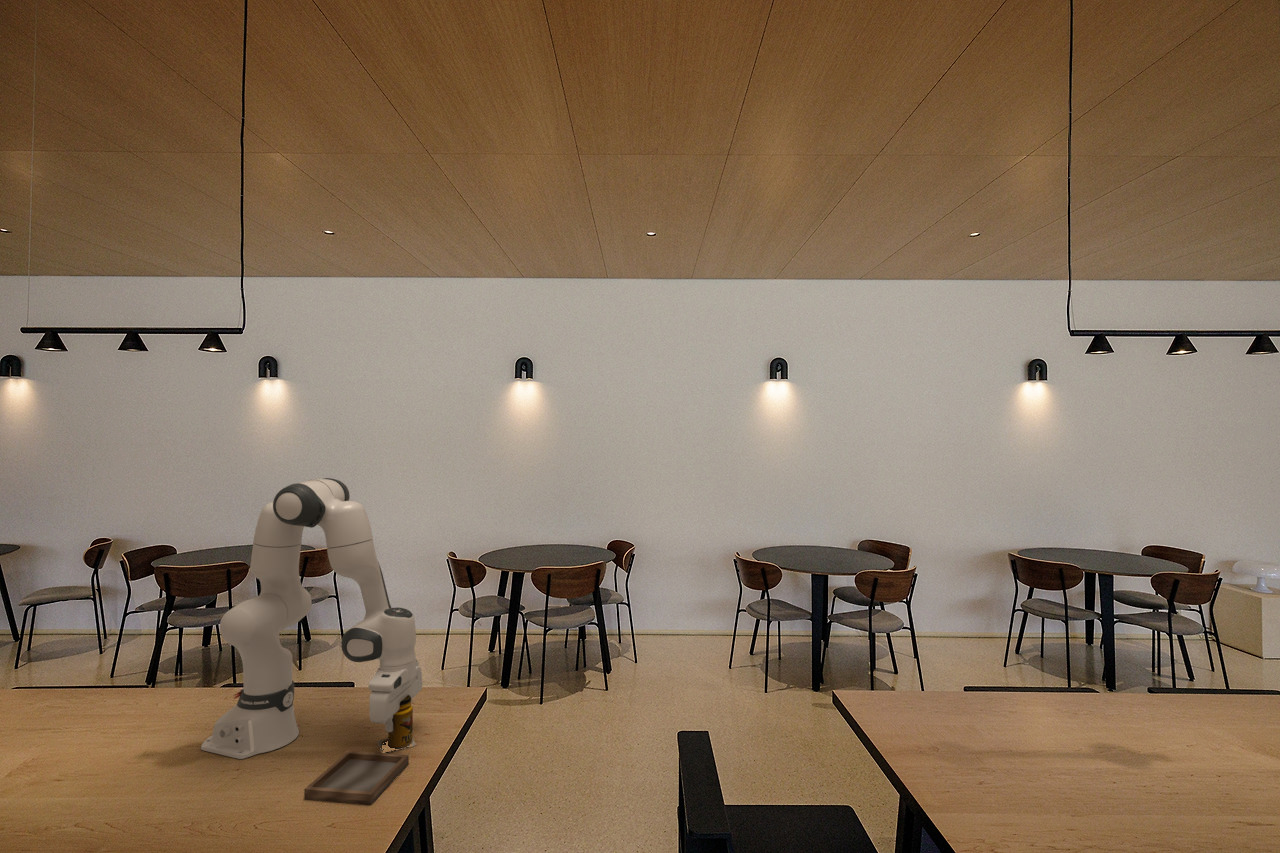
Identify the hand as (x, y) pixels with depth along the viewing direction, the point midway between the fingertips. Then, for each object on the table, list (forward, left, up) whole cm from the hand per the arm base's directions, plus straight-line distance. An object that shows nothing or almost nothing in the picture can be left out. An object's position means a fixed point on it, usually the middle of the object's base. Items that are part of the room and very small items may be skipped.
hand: (397, 723), depth 156 cm
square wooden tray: (0, -17, -5) cm, 18 cm away
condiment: (0, 0, -5) cm, 5 cm away
